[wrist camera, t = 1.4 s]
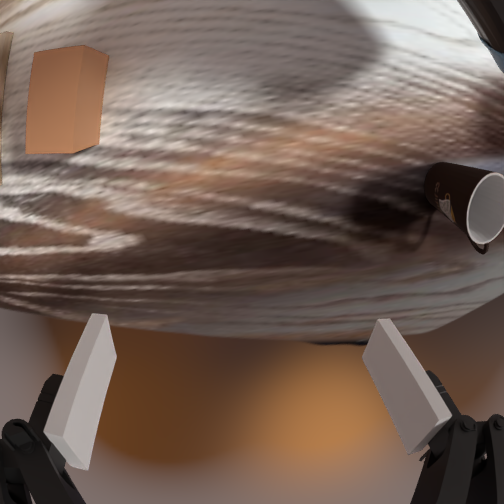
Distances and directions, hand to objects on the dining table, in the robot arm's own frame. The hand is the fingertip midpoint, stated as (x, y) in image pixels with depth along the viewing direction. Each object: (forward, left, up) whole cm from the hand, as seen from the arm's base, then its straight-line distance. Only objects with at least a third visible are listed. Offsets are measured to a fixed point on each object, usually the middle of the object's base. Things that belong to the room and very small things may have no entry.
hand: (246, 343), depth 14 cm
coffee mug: (-5, +28, -23) cm, 36 cm away
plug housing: (-10, -18, -22) cm, 30 cm away
